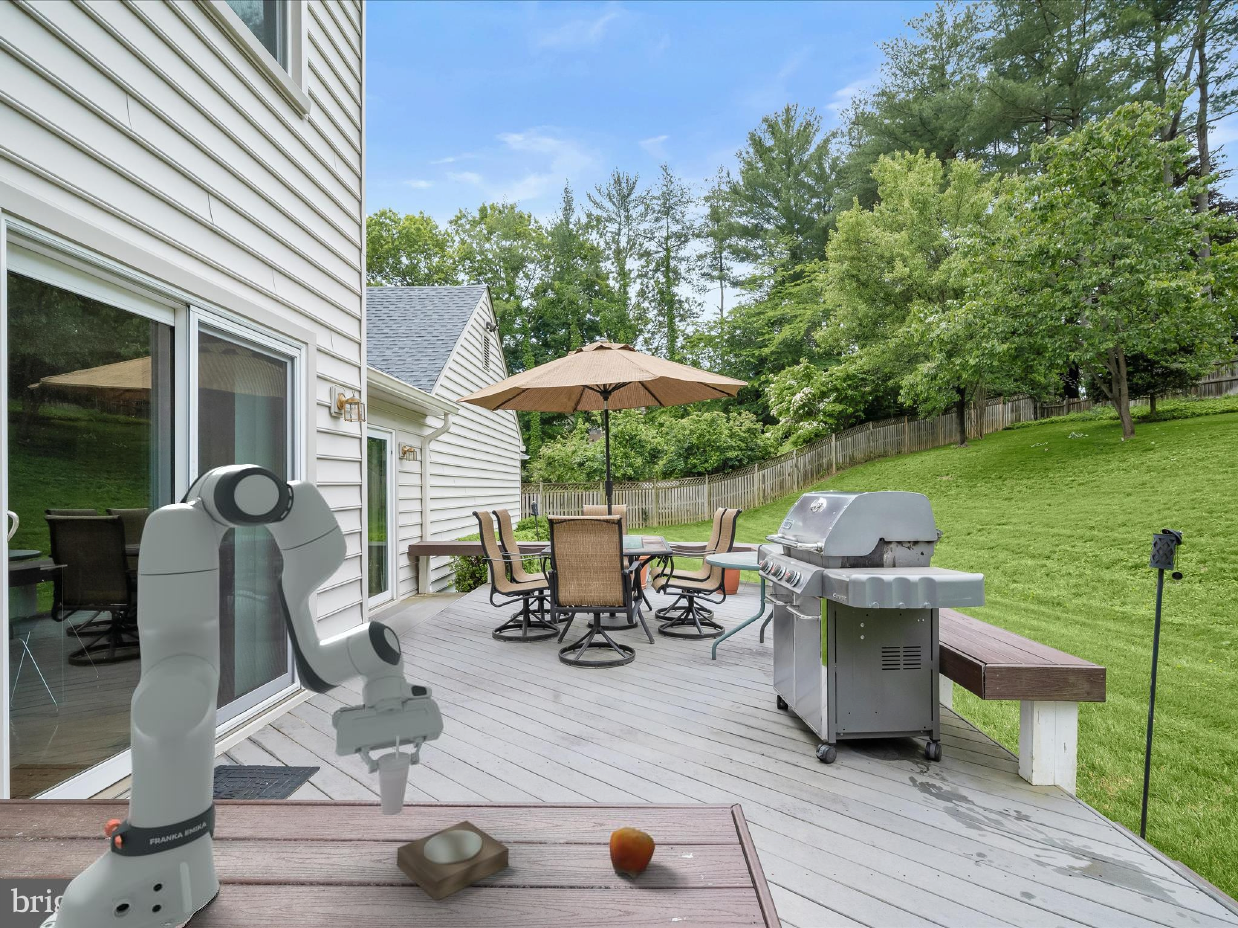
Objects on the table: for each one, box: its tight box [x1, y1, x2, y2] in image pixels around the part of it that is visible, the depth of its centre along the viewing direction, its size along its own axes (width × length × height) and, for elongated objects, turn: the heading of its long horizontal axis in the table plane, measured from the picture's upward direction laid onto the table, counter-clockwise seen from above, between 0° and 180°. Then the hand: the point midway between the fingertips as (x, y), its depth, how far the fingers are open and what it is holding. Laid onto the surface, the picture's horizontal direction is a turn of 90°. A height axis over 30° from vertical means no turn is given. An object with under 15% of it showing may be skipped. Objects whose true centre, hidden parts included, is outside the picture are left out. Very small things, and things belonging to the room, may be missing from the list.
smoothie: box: [376, 735, 412, 816], centre depth 118 cm, size 6×6×14 cm
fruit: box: [609, 826, 656, 882], centre depth 108 cm, size 8×8×8 cm
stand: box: [396, 820, 510, 902], centre depth 109 cm, size 14×14×4 cm
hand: (394, 767), depth 117 cm, fingers closed on smoothie, 6 cm apart
